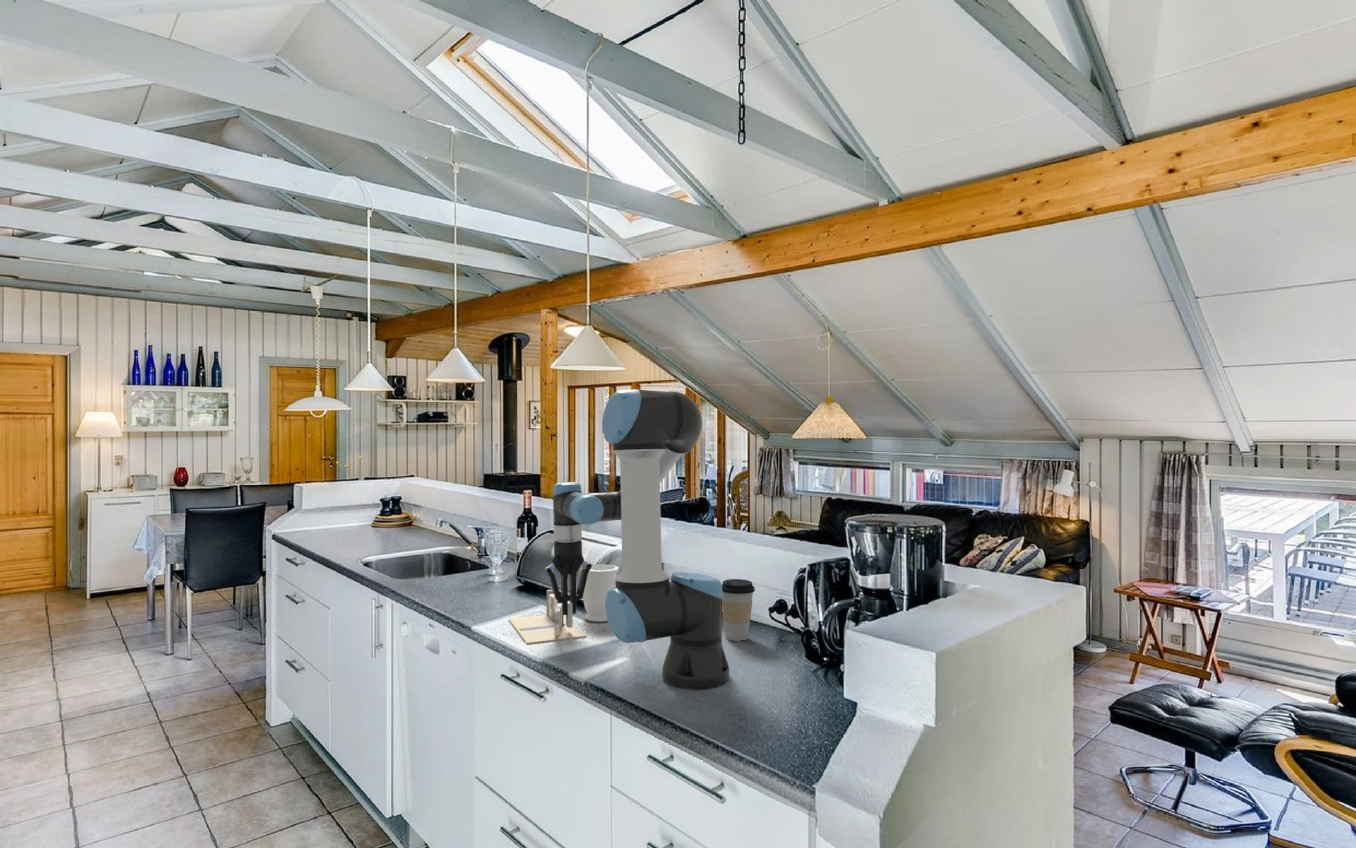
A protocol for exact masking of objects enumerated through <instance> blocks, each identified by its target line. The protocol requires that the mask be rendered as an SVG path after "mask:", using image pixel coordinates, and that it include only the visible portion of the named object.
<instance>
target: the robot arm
mask: <svg viewBox="0 0 1356 848" xmlns="http://www.w3.org/2000/svg"><path fill="white" fill-rule="evenodd" d="M601 421H602V423H601V426H602V427H601V429H602V430H601V431H602V434H603V438H604V440H605V441H606V442H607V443H609V444H611V445H612V453H613V454H615V456H616V457H617V458H618V459H619V464H620V465H619V466H620V469H619V470H620V473H619V474H620V475H619V478H620V489H619V491H609V492H608V491H607V492H589V493H588V492H584V493H583V491H582V486H581V484H580V483H579V482H577V481H576V482H573V481H572V482H571V481H566V482H557V483H555V484H553V490H552V502H553V505H552V507H553V510H552V513H553V539H554V542H553V559H552V563H550V564H549V565H548V566H545V567H544V568H543V569H544V571H545V572H546V574H547V575H548V578H549V582H550V586H551V590H553V594H554V597H555V599H556V600H557V601H558V602H562V613H563V614H564V615H565V616H566V626H567V627H568V628H571V627H573V623H574V622H573V617H574V616H573V615H576V613H577V602H578V601H579V600H582V599H583V594H584V589H585V585H586V581H587V576H588V572H589V571H590V569H591V567H592V565H593V564H591V563H590V562H588V561H586V560H585V558H584V556H583V541H582V540H581V538H583V537H582V536H583V529H582V528H583V527H582V525H587V526H592V525H594V524H596V523H598V522H601V523H602V522H612V521H621V522H620V523H621V527H620V528H621V529H620V530H621V565H622V566H621V571H620V573H618V574H617V577H616V578H615V583H616V587H615V588H612V589H611V590H609V591H608V593H607V597H606V600H605V608H606V615H607V619H608V621H607V622H608V624H609V628H610V629H611V631H612V633H613V634H614V637H616V638H617V639H618V640H619V641H620V642H622V643H625V644H629V643H631V644H632V643H644V642H646V641H647V642H648V641H651V640H658V639H663V638H669V637H670V643H669V646H668V649H667V652H666V655H665V658H664V661H663V664H662V668H661V669H662V670H661V671H662V676H661V677H662V680H663V681H664V682H665V683H668V684H669V685H671V686H673V687H678V688H681V689H690V690H704V689H705V690H707V689H713V688H718V687H720V686H722V685H725V684H727V682H728V681H729V680H730V666H729V664H728V661H727V657H726V652H725V651H724V647H723V641H722V640H723V637H722V635H723V610H722V600H723V595H722V584H723V583H722V582H721V581H720V579H718V578H717V577H714V576H711V575H707V574H704V573H703V574H702V573H696V572H684V571H683V572H681V571H678V572H677V571H676V572H674V573H672V574H671V576H669V574H668V573H666V572H665V571H664V570H663V566H662V564H663V562H662V561H663V560H662V527H661V526H662V524H661V523H662V520H661V519H662V518H661V517H662V514H661V512H662V511H661V483H662V482H663V480H664V479H665V478H666V476H667V475H668V474H669V473H670V471H671V470H672V468H673V467H674V466H675V465H676V463H677V462H678V461H679V459H680V458H681V456H682V455H685V454H687V453H689V452H690V451H692V449H693V448H694V447H695V445H696V444H697V443H698V440H699V438H700V436H701V434H702V429H703V417H702V414H701V410H700V407H698V405H697V404H696V402H695V401H694V400H693V399H692V398H691V397H689V396H688V395H686V394H684V393H682V392H679V391H673V390H671V391H670V390H669V391H665V390H663V391H662V390H648V389H636V388H635V389H623V390H621V389H620V390H618V391H616V392H614V393H613V394H612V395H611V396H610V398H608V400H607V402H606V404H605V407H604V411H603V415H602V419H601ZM580 568H581V571H580V576H579V580H578V581H579V582H578V585H577V577H578V576H577V575H578V571H579V570H580ZM555 569H556V570H557V572H559V575H560V590H561V591H560V590H559V586H558V582H557V579H556V575H555V572H556V571H555ZM568 579H569V587H568ZM568 588H569V589H568ZM568 590H569V591H568Z"/></svg>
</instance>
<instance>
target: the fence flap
mask: <svg viewBox="0 0 1356 848" xmlns="http://www.w3.org/2000/svg"><path fill="white" fill-rule="evenodd" d="M563 621H564V614H563V613H562V602H558V601H557V607H556V610H555V625H554V635H559V633H560V630H561V627H562V624H563Z"/></svg>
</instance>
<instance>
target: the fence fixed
mask: <svg viewBox="0 0 1356 848" xmlns="http://www.w3.org/2000/svg"><path fill="white" fill-rule="evenodd" d="M556 607H557V600H556V599H555V597H554V593H553V590H552V589H547V590H546V615H549V616H550V617H551V618H552V619H553V620H554V622H555V610H556ZM564 625H565V624H564V623H563V624H562V626H564Z"/></svg>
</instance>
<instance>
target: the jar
mask: <svg viewBox="0 0 1356 848" xmlns="http://www.w3.org/2000/svg"><path fill="white" fill-rule="evenodd" d="M591 565H592V567H591V569H590V571H589V572H588V576H587V581H586V585H585V589H584V594H583V598H582V599H583V606H584V610H585V611H586V614H585V616H584V618H585V619H586V620H587V621H589V622H596V623H597V622H598V623H600V622H601V623H602V622H604V623H605V622H608V619H607V615H606V608H605V600H606V597H607V593H608V591H609V590H611V589H612V588H615V587H616V583H615V578H616V577H617V576H618V572H619V570H620V569H619V568H620V567H619V566H617V565H613V564H601V563H600V564H598V563H597V564H591Z"/></svg>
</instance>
